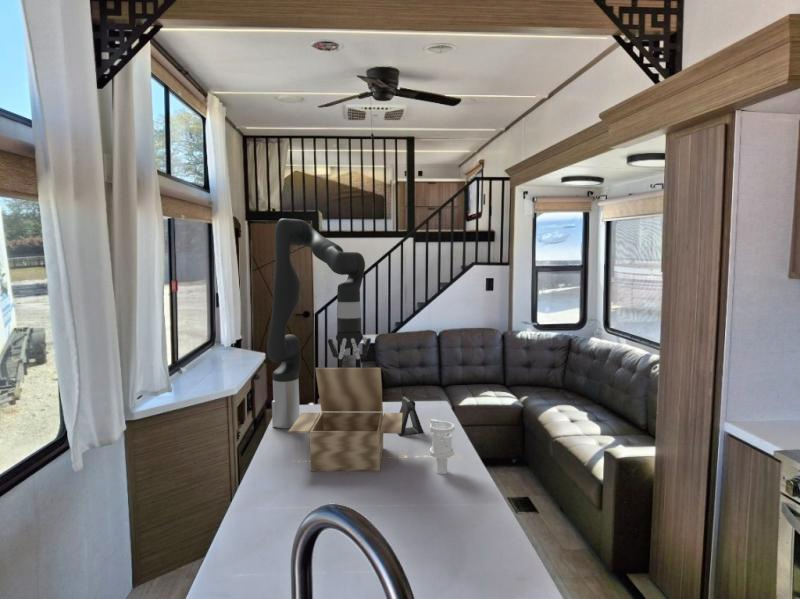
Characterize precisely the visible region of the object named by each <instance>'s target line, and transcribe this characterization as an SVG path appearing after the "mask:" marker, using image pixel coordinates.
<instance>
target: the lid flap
mask: <svg viewBox="0 0 800 599" xmlns="http://www.w3.org/2000/svg"><path fill="white" fill-rule="evenodd" d="M356 359H357V358H356V355H355V354H353V355H352V354H346V355H345V354H344V356H343V362H342V368H339V367H315V376H316V382H317V388H318V389H317V390H318V396H319V402H320V410H321V412H383V411H384V408H383V407H384V406H383V387H382V370H381V367H361V368H356ZM383 413H384V412H383Z"/></svg>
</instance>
